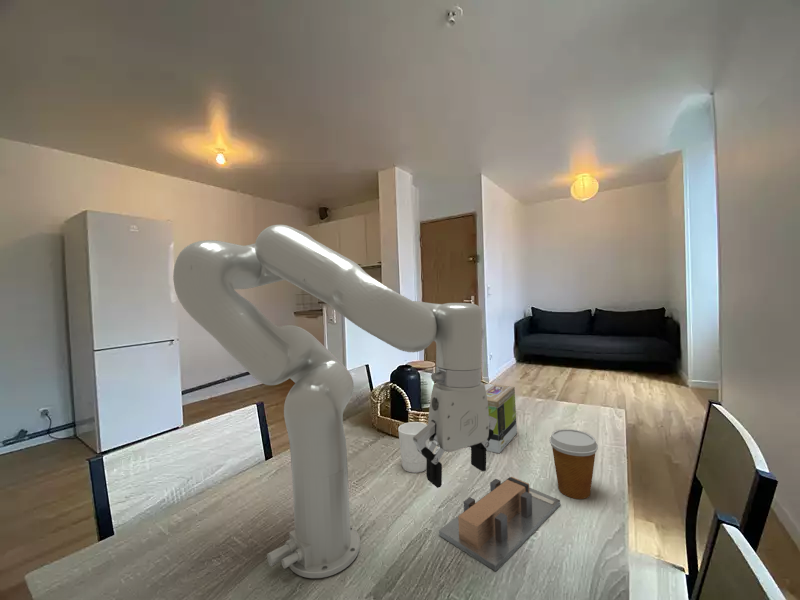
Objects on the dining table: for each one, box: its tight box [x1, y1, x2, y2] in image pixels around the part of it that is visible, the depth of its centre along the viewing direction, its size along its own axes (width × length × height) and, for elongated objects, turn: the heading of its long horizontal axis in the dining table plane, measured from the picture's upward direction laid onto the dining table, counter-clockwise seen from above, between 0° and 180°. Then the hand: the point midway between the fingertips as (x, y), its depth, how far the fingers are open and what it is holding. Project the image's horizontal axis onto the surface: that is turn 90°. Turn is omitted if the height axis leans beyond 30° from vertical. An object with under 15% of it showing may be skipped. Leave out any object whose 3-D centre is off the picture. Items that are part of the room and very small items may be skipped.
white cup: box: [397, 421, 430, 474], centre depth 92 cm, size 8×8×10 cm
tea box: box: [483, 382, 518, 454], centre depth 105 cm, size 15×10×15 cm, turn 144°
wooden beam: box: [457, 476, 530, 549], centre depth 69 cm, size 18×4×4 cm, turn 133°
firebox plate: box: [438, 478, 561, 572], centre depth 70 cm, size 24×12×5 cm, turn 133°
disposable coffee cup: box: [549, 428, 599, 500], centre depth 78 cm, size 10×10×12 cm
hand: (457, 475), depth 61 cm, fingers open, 9 cm apart
